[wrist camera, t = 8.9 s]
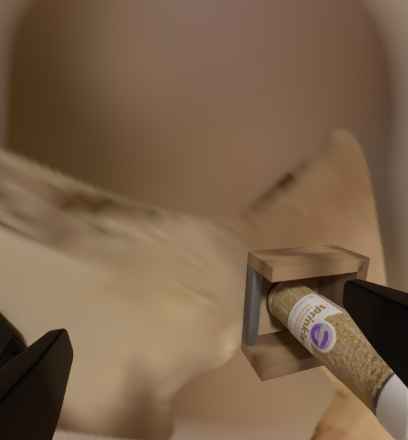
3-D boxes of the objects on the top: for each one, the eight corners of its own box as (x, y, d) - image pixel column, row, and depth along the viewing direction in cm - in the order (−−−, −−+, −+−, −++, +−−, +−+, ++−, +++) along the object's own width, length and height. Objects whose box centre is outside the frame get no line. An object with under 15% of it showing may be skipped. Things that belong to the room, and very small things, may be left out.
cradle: (241, 349, 25) (261, 381, 21) (248, 251, 23) (273, 268, 19) (321, 332, 28) (351, 357, 24) (334, 244, 26) (369, 258, 22)
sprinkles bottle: (270, 275, 24) (429, 392, 12) (307, 276, 26) (483, 381, 13) (261, 317, 25) (400, 470, 12) (298, 316, 26) (455, 452, 14)
